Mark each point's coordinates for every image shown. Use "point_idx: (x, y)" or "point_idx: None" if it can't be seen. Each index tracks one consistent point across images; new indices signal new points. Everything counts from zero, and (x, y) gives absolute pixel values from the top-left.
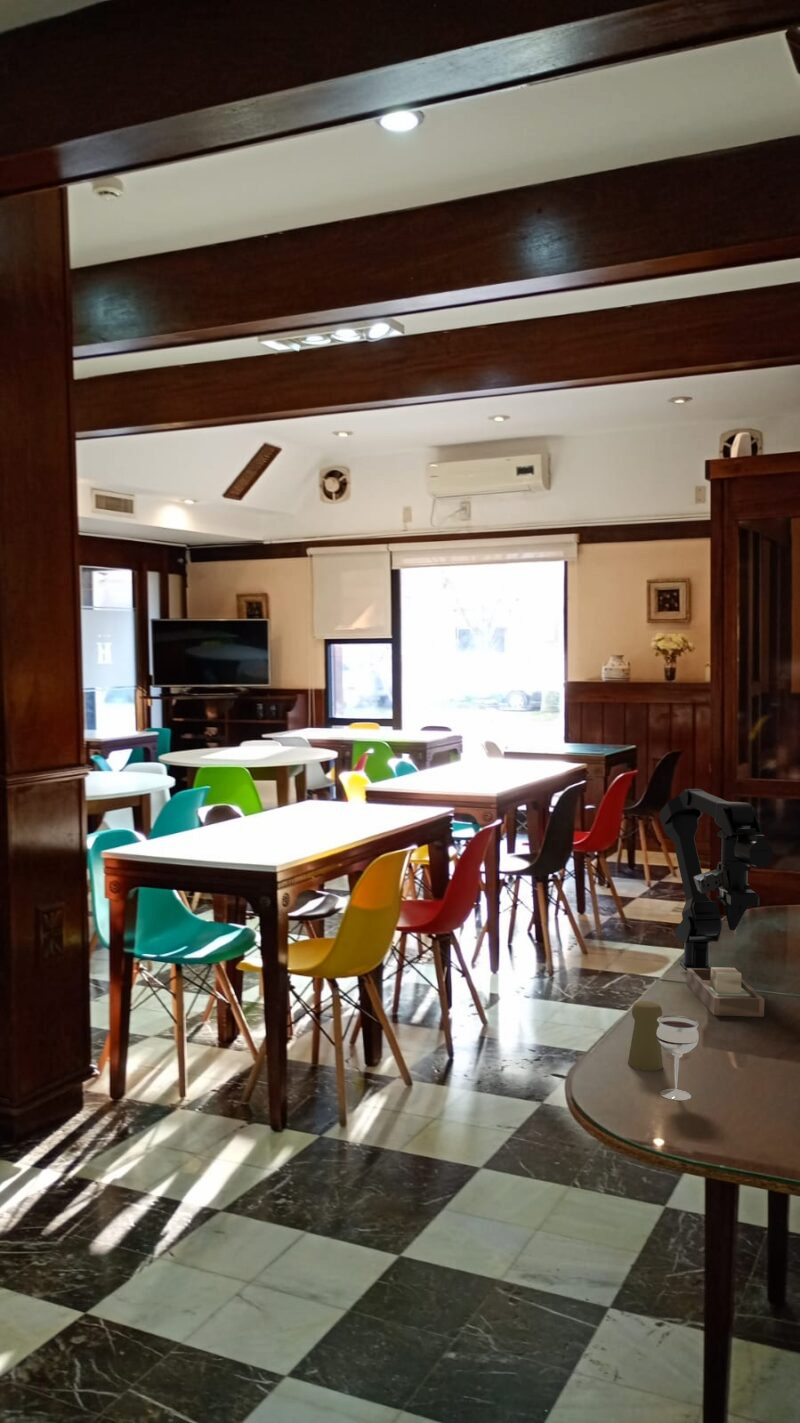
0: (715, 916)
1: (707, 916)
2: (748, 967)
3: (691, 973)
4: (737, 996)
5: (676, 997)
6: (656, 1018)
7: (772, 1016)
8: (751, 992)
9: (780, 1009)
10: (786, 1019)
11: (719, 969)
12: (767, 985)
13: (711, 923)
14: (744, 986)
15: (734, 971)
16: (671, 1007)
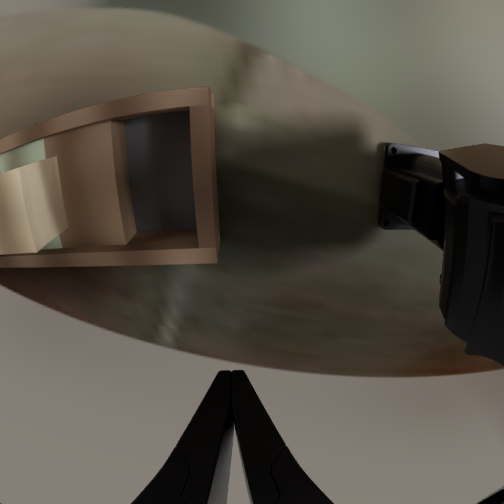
0: (479, 332)
1: (492, 294)
2: (392, 315)
3: (129, 97)
4: None
5: (71, 63)
6: None
7: None
8: (7, 255)
9: (48, 296)
10: (6, 285)
11: (5, 195)
12: (232, 327)
13: (463, 294)
14: (46, 253)
15: (4, 241)
16: (11, 64)
